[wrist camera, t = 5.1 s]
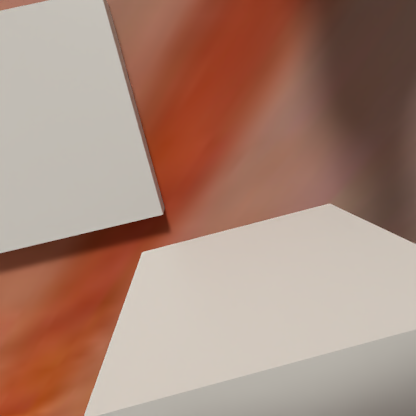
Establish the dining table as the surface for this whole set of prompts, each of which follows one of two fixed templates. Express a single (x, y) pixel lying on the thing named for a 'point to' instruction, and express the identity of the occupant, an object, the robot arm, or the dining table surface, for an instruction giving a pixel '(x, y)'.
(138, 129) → the baseplate
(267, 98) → the dining table surface
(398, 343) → the off-white brick
